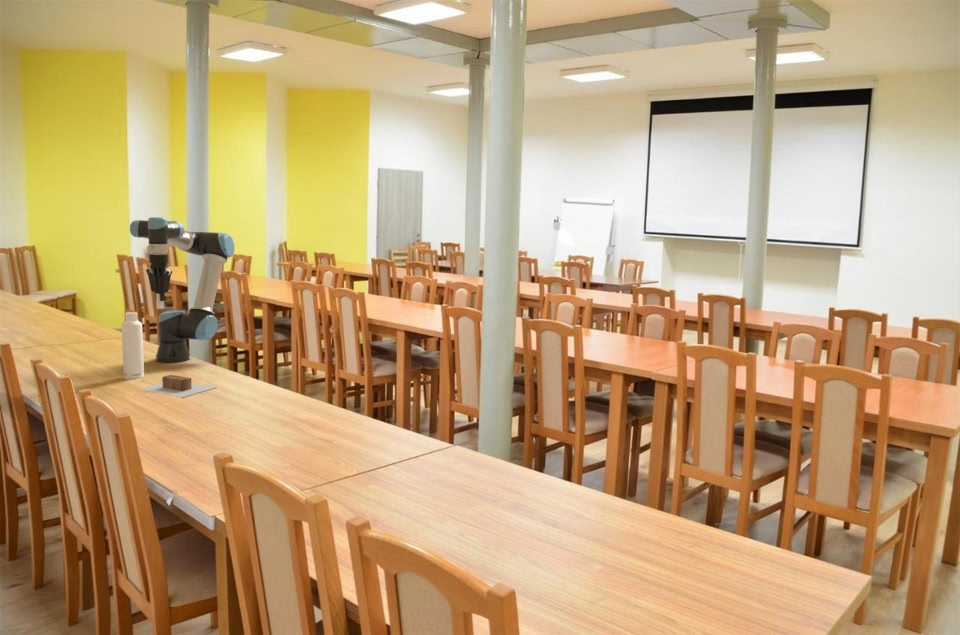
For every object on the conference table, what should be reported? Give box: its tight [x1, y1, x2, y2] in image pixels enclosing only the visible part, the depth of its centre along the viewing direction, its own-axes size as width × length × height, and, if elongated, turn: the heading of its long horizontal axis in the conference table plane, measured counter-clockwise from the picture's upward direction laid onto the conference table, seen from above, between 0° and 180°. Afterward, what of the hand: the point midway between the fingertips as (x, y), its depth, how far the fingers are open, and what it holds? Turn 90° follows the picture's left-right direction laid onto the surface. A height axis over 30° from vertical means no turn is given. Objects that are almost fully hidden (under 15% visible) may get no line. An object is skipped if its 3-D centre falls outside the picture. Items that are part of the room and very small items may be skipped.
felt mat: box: [138, 382, 217, 399], centre depth 307 cm, size 18×24×1 cm
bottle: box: [121, 311, 145, 380], centre depth 322 cm, size 8×8×28 cm
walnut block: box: [162, 374, 192, 391], centre depth 306 cm, size 4×4×11 cm
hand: (160, 308), depth 325 cm, fingers closed
